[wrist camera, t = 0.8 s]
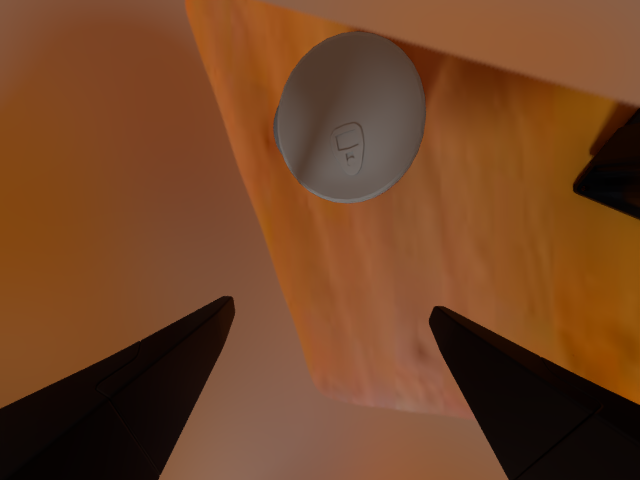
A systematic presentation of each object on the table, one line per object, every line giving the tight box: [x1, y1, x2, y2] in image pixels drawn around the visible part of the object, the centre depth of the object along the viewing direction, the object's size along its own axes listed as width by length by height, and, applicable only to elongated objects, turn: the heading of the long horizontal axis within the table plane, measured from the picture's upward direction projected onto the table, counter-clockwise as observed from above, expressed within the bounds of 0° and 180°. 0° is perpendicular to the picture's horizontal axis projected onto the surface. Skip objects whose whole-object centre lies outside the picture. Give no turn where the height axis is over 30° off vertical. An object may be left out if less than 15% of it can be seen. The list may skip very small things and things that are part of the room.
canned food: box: [277, 31, 426, 203], centre depth 16 cm, size 8×8×11 cm
